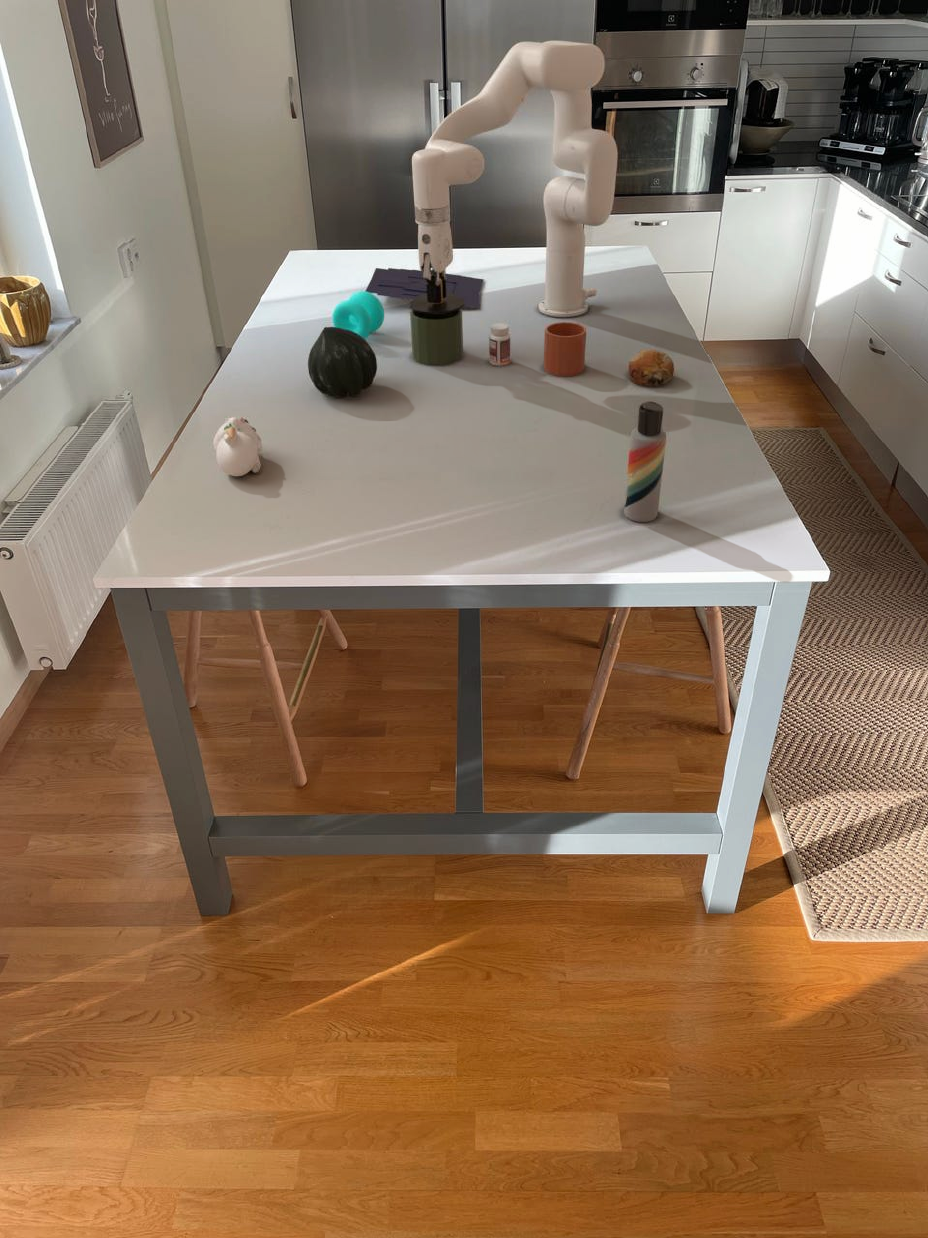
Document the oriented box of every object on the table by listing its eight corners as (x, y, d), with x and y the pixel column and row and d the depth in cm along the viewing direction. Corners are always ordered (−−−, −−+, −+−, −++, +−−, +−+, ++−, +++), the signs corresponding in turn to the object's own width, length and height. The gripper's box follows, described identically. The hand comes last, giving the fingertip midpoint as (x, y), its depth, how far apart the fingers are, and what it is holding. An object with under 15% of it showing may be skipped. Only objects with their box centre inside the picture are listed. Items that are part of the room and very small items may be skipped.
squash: (400, 360, 206) (354, 303, 203) (366, 389, 196) (317, 330, 192) (362, 393, 216) (317, 339, 212) (327, 422, 206) (280, 366, 202)
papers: (376, 275, 268) (377, 262, 265) (482, 288, 268) (484, 275, 266) (363, 304, 248) (363, 290, 246) (477, 318, 248) (479, 305, 246)
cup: (566, 357, 220) (568, 319, 215) (592, 369, 214) (594, 330, 209) (535, 367, 216) (536, 328, 210) (561, 379, 210) (563, 339, 204)
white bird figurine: (237, 437, 169) (233, 395, 179) (202, 462, 171) (199, 418, 181) (272, 472, 175) (265, 429, 186) (237, 496, 177) (233, 452, 188)
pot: (444, 342, 229) (442, 299, 223) (472, 357, 221) (471, 312, 215) (403, 354, 224) (400, 309, 218) (431, 369, 216) (428, 323, 210)
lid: (444, 293, 223) (443, 266, 219) (476, 307, 215) (475, 280, 211) (398, 305, 217) (396, 278, 214) (429, 321, 209) (428, 293, 205)
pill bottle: (510, 358, 220) (511, 322, 215) (509, 366, 217) (509, 329, 212) (490, 357, 221) (490, 322, 216) (488, 365, 217) (488, 329, 212)
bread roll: (673, 390, 213) (679, 353, 211) (668, 388, 203) (674, 349, 201) (629, 385, 215) (634, 349, 214) (622, 382, 206) (628, 344, 204)
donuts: (332, 341, 231) (328, 300, 225) (351, 327, 239) (347, 287, 233) (369, 346, 228) (366, 304, 222) (387, 332, 236) (384, 291, 230)
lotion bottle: (620, 506, 165) (629, 398, 153) (653, 504, 166) (664, 396, 154) (627, 523, 161) (638, 413, 149) (661, 521, 161) (674, 411, 149)
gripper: (436, 225, 197) (441, 313, 208) (460, 204, 209) (463, 289, 220) (402, 223, 199) (408, 310, 210) (428, 203, 211) (433, 286, 222)
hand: (437, 298), depth 215 cm, fingers closed on lid, 2 cm apart
